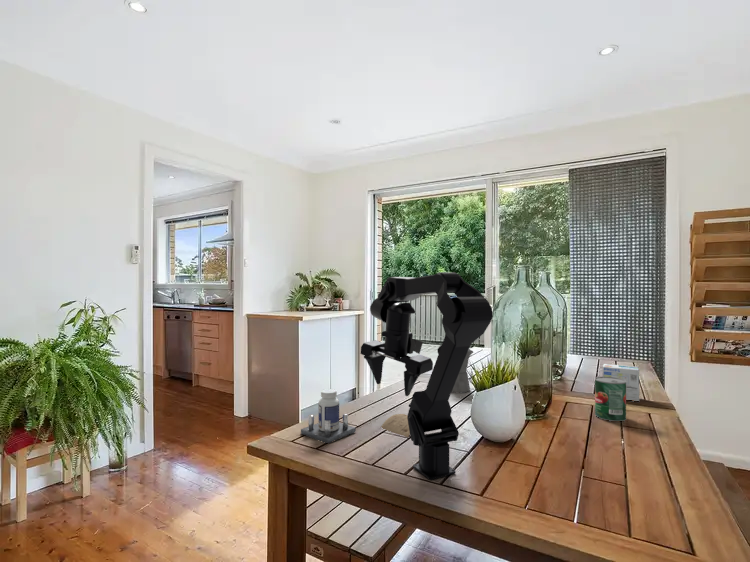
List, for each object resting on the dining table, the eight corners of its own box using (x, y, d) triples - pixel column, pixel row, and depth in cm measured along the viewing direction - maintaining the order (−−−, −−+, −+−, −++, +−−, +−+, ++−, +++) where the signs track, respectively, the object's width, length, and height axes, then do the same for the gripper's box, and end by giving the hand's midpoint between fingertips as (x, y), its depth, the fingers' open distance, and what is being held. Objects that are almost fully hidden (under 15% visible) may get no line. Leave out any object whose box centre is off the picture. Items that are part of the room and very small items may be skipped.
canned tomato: (588, 414, 119) (588, 377, 119) (609, 412, 121) (608, 375, 122) (611, 423, 111) (611, 383, 112) (633, 420, 114) (632, 381, 114)
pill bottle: (343, 426, 106) (343, 389, 106) (332, 433, 101) (332, 394, 101) (325, 423, 108) (325, 387, 108) (314, 430, 103) (314, 392, 103)
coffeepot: (480, 390, 146) (479, 341, 146) (465, 395, 139) (465, 343, 140) (445, 383, 157) (445, 337, 157) (430, 387, 150) (430, 339, 151)
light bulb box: (639, 398, 137) (639, 366, 137) (639, 402, 131) (639, 369, 131) (603, 393, 142) (603, 362, 143) (602, 397, 137) (602, 366, 137)
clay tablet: (407, 440, 101) (407, 429, 101) (376, 431, 107) (376, 421, 107) (437, 425, 112) (437, 415, 112) (407, 417, 118) (407, 408, 118)
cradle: (355, 432, 105) (355, 414, 105) (327, 443, 97) (327, 424, 97) (329, 423, 112) (329, 406, 112) (300, 433, 104) (300, 415, 104)
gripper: (448, 332, 97) (442, 393, 99) (389, 316, 109) (385, 371, 112) (421, 339, 89) (415, 406, 91) (361, 321, 101) (357, 380, 103)
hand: (392, 389), depth 99 cm, fingers open, 9 cm apart
